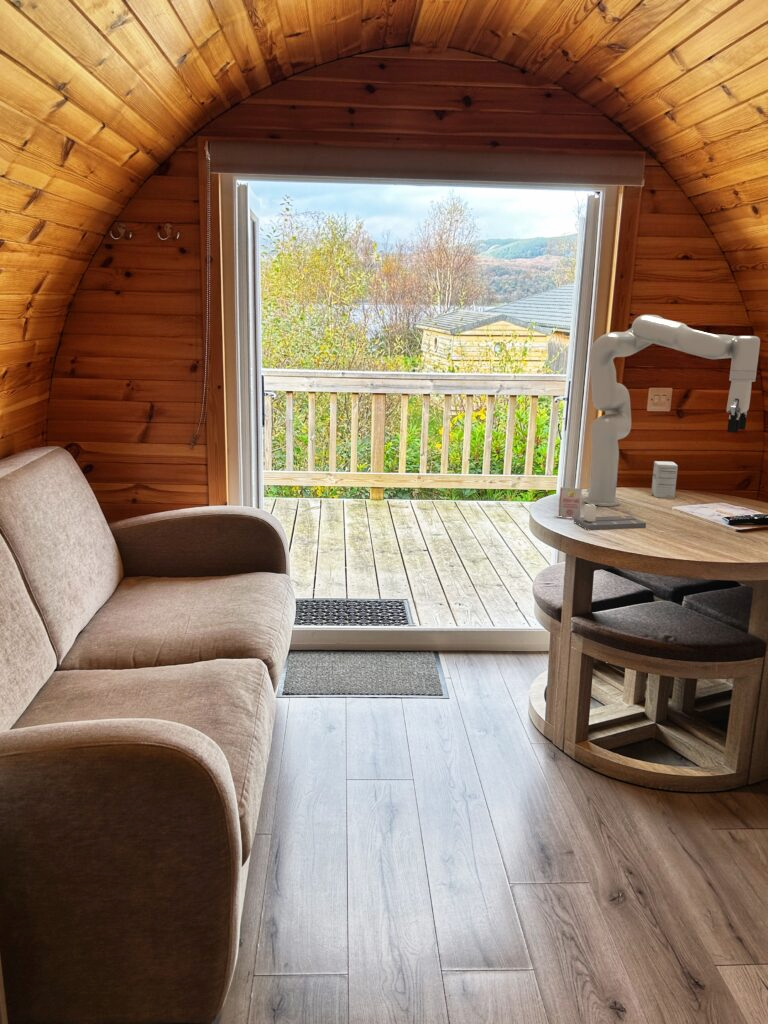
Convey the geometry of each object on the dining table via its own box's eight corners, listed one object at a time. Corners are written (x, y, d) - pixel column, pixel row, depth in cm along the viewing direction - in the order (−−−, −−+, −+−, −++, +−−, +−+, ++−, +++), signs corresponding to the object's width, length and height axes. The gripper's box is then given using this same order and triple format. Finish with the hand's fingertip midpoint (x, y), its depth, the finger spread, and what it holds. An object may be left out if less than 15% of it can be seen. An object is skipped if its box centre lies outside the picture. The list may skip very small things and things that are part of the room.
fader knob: (583, 519, 257) (585, 503, 256) (590, 518, 258) (592, 503, 256) (588, 521, 254) (589, 506, 253) (595, 521, 255) (596, 505, 253)
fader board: (573, 522, 260) (574, 517, 260) (630, 520, 264) (630, 515, 264) (587, 530, 251) (587, 525, 251) (645, 527, 255) (646, 522, 255)
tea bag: (559, 515, 270) (561, 486, 267) (579, 517, 268) (582, 487, 266) (558, 517, 266) (560, 488, 264) (579, 519, 264) (581, 489, 262)
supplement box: (650, 493, 306) (653, 460, 303) (670, 494, 305) (674, 461, 302) (654, 497, 299) (657, 464, 296) (675, 498, 298) (678, 464, 295)
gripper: (736, 374, 259) (730, 427, 263) (723, 377, 245) (717, 432, 249) (761, 375, 255) (754, 429, 259) (749, 378, 241) (742, 434, 245)
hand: (736, 430), depth 254 cm, fingers open, 9 cm apart
